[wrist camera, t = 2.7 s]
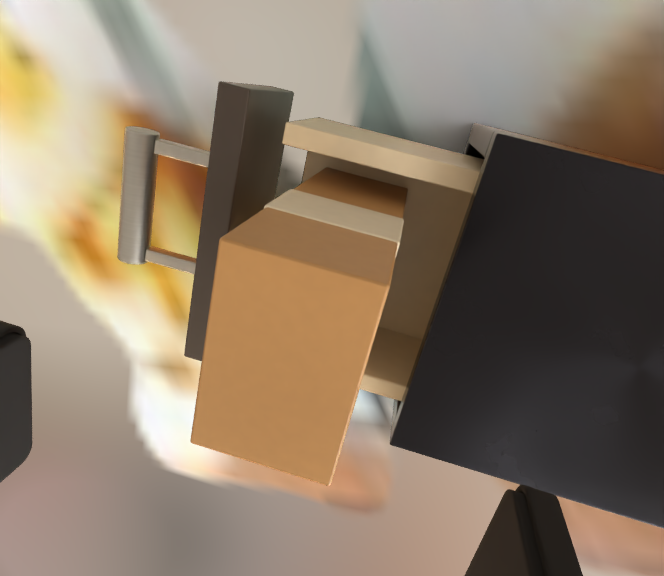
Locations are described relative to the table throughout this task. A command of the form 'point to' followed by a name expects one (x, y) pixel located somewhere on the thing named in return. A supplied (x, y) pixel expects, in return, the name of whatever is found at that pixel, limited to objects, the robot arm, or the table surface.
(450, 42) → the table surface
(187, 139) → the table surface
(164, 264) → the drawer
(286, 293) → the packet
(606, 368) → the cabinet
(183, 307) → the table surface
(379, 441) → the table surface
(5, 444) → the robot arm
